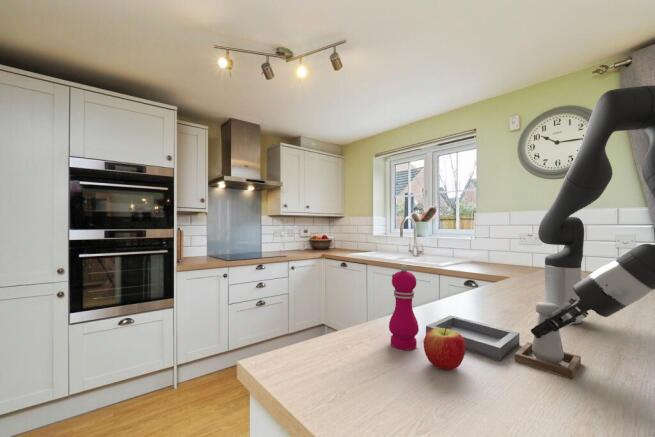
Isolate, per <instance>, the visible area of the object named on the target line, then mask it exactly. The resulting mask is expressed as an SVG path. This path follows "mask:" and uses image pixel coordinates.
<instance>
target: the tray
mask: <svg viewBox="0 0 655 437" xmlns="http://www.w3.org/2000/svg"><path fill="white" fill-rule="evenodd" d="M450 322H451V324H450V325H449V326H448V327H447V325H448V324H449V323H450ZM446 327H447V329H449V330H452V331H455V332H457V333H459V334H461V335H462V336H463V338H464V341H465V351H466V352H469V353H472V354H477V355H479V356H482V357H485V358H488V359H492V360H495V361H497V362H501V361H503V360H504V359H505V358H506V357H507V356H508V355H510V354H511V352H513V351H514V350H515V349H516V348H517V347H519V345H520V332H518V331H514V330H510V329H505V328H502V327H498V326H495V325H490V324H487V323H482V322H479V321H474V320H469V319H466V318H462V317H460V316H459V317H458V316H454V315H447V316H446V317H443V318H441V319H438V320H436V321H434V322H432V323H430V324H427V325H426V326H425V335H426V334H427V332H428V331H429V330H431V329H434V328H445V329H446Z"/></svg>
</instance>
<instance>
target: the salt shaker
mask: <svg viewBox="0 0 655 437" xmlns="http://www.w3.org/2000/svg"><path fill="white" fill-rule="evenodd" d="M558 308H559V307H558V306H557V305H555V304H553V303H548V302H545V301H539V302H538V301H537V303H536V305H535V312H537V314H538V317H537V321H536V325H535V326H537V325H539V324H540V323H542V322H544V320H545V319H548V318H549V317H551V316H552V313H553V312H554V311H555V310H557V309H558ZM559 312H560V311H559ZM559 312H558V313H559ZM551 321H552V322H553V323H554V324H555V325H556V326H557V325H558V324H557V323H556V322H555V321H554V320H551ZM532 343H533V344H532V351H531V352H532V353H533V355H534V358H536V359H539V360H543V361H546V362H549V363H553V364H556V365H560V363H561V362H562V359H563V358H564V352H565V351H564V348H563V343H562V338H561V334H560V329H559V330H558V331H555V332H553V331H551V332H550V333H548V334H546V335H542V336H541V338H536V337H535V336H534V335H533V339H532Z"/></svg>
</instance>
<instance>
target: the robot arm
mask: <svg viewBox="0 0 655 437" xmlns="http://www.w3.org/2000/svg"><path fill="white" fill-rule="evenodd" d="M637 130H642V131H643V132H644V133H645V134H646V135H647V136H648V137H649V140H650V144H649V147H648V150H647V151H646V153H645V156H644V158H643V160H642V163H641V164H642V165H641V172H642V177H643V180H644V181H645V183H646V185H647V187H648V189H649V190H650V193H651V194H652V196H653V198H654V199H655V85H641V86H631V87H622V88H615V89H614V88H613V89H611V90H608V91H605V92H604V93H603V94H602V95H601V96H600V98H598V100H597V102H596V104H595V106H594V107H593V109H592V112H591V115H590V118H589V120H588V124H587V126H586V129H585V132H584V135H583V138H582V140H581V143H580V145H579V147H578V149H577V152H576V155H575V157H574V159H573V160H572V163H571V165H570V167H569V169H568V171H567V172H566V174H565V177H564V179H563V180H562V183H561V185H560V188H559V190H558V192H557V194H556V196H555V199H554V200H553V202H552V204H551V206H550V207H549V209H548V210H547V212H546V213H545V214H544V216H543V218H542V220H541V221H540V224H539V226H538V232H537V233H538V234H537V236H538V239H539V240H540V241H541V243H543V244H545V245H553V246H563V249H562V250H560V251H558V252H556V253H553V254H548V255H546V256H545V258H544V302H548V303H553V304H555V305H557V306H558V307H559V308H558V309H557V310H555V311H554V312H553V313H552V316H551V317H549V318H548V319H545V320H544V322H542V323H540V324H539V325H537V324H536V325H537V326H536V325H535V326H534V327H533V328H531V329H530V332H531V334H532V335H533V337H534V336H535V337H536V338H541V336H542V335H546V334H548V333H550V332H551V331H553V332H555V331H558V330H559V331H560V330H561V329H562V328H564V327H565V328H567V327H569V326H570V325H572V324H573V325H574V324H576V325H577V324H581V323H582V320H584V319H585V318H587V317H588V315H590V314H589V312H588V311H591V310H592V311H593V312H595V313H596V314H597V315H599V316H600V317H604V318H608V317H610V316H612V315H614V314H616V313H618V312H619V311H621V310H623V309H625V308H626V307H628V306H630V305H632V304H634V303H635V302H638V301H640V300H641V299H642V298H645V297H646V296H647V295H648V294H649V293H651V292H653V290H655V244H652V243H643V244H640V245H638V246H636V247H634V248H632V249H631V250H628V251H627V252H626V253H624V254H623V255H621V256H620V257H618V258H616V259H615V260H613V261H611V262H609V263H606V264H604V265H603V266H601V267H600V268H598V269H596V270H595V271H592V273H590V274H589V275H587V276H586V277H584V278H582V264H583V263H582V261H583V259H584V243H585V242H584V241H585V227H584V223H583V220H582V219H581V218H579V217H577V216H576V217H575V216H572V215H574V214H575V213H576V212H578V211H581V210H582V209H584V208H586V207H588V206H590V205H591V204H593V203H594V202H595V201H597V200H598V199H599V198H601V196H602V194H603V193H604V191H605V190H606V189H607V187H608V185H609V184H610V182H611V180H612V179H613V178H612V177H613V174H614V172H613V167H612V164H611V161H610V159H609V157H608V155H607V152H606V146H607V143H608V141H609V140H610V137H611V136H612V134H613V133H615V132H623V131H637ZM559 311H560V312H559ZM558 312H559V313H558ZM551 320H554V321H555V322H556V323H557V324H558V325H557V326H556V325H555V324H554V323H553V322H552V321H551Z"/></svg>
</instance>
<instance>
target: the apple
mask: <svg viewBox="0 0 655 437" xmlns="http://www.w3.org/2000/svg"><path fill="white" fill-rule="evenodd" d="M450 324H451V322H450V323H449V324H448V325H447V327H448V326H449V325H450ZM447 327H446V329H445V328H434V329H431V330H429V331H428V332H427V334H426V333H425V336H424V338H423V351H424V355H425V356H426V359H427V360H428V361H429V362H430V364H431V365H433V366H434V367H436V368H438V369H439V370H441V371H452V370H456V369H457V368H459V367H460V366H461V364H462V362H463V360H464V358H465V354H466V350H465V341H464V338H463V336H462V335H461V334H459V333H457V332H455V331H452V330H449V329H447Z"/></svg>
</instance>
